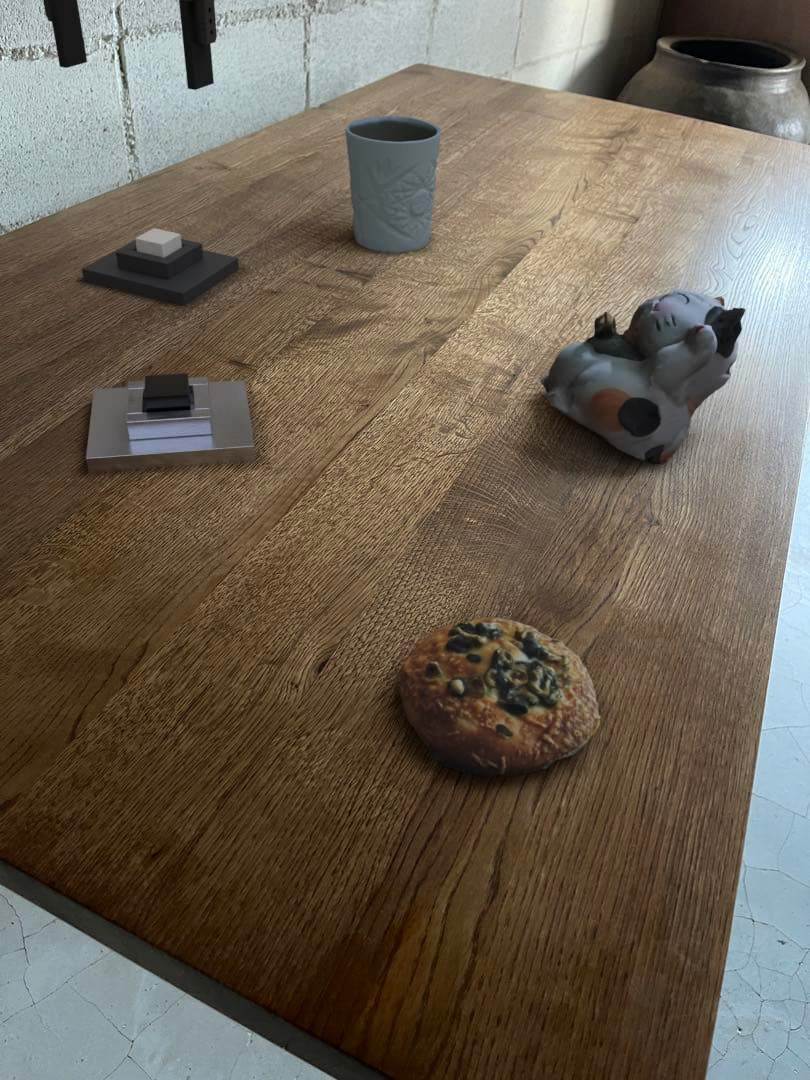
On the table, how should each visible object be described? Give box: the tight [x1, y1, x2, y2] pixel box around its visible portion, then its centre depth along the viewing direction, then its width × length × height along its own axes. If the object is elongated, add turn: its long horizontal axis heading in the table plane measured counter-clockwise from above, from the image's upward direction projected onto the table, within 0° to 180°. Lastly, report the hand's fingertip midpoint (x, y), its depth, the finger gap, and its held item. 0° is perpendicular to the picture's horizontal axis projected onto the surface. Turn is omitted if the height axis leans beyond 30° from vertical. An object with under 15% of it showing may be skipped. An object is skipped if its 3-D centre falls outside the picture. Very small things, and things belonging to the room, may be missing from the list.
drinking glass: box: [345, 115, 442, 254], centre depth 101 cm, size 10×10×12 cm
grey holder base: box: [85, 376, 256, 474], centre depth 71 cm, size 12×10×3 cm
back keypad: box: [81, 238, 240, 306], centre depth 93 cm, size 12×10×3 cm
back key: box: [134, 227, 182, 258], centre depth 92 cm, size 3×3×2 cm
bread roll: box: [398, 617, 602, 778], centre depth 50 cm, size 11×11×5 cm
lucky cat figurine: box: [539, 288, 746, 464], centre depth 72 cm, size 15×12×14 cm
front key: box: [144, 372, 191, 413], centre depth 70 cm, size 3×3×2 cm
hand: (135, 75), depth 80 cm, fingers open, 13 cm apart
